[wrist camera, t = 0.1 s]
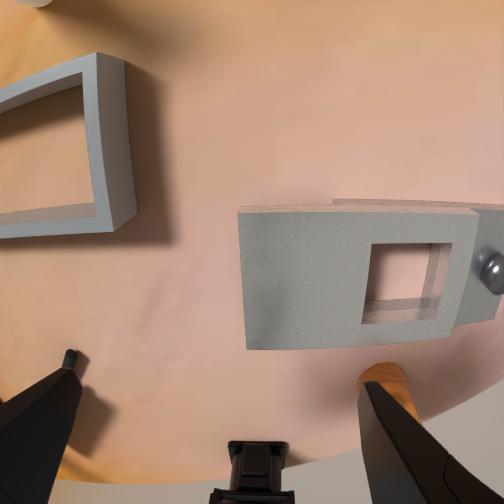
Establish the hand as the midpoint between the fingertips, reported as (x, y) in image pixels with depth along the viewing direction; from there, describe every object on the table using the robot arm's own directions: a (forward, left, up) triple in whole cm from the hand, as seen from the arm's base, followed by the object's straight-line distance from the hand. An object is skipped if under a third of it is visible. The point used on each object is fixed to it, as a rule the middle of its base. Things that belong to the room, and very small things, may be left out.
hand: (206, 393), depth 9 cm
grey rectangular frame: (+7, +18, -15) cm, 24 cm away
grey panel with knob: (-3, -11, -15) cm, 18 cm away
